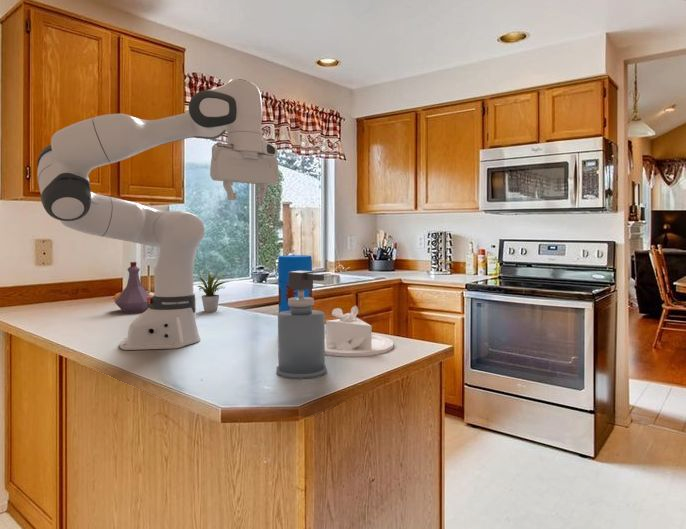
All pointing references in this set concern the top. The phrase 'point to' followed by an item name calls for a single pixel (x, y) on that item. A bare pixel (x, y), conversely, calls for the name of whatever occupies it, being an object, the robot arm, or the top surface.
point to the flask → (133, 293)
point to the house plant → (210, 293)
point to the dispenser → (301, 340)
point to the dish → (353, 336)
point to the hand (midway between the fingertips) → (246, 200)
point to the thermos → (284, 267)
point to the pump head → (303, 281)
